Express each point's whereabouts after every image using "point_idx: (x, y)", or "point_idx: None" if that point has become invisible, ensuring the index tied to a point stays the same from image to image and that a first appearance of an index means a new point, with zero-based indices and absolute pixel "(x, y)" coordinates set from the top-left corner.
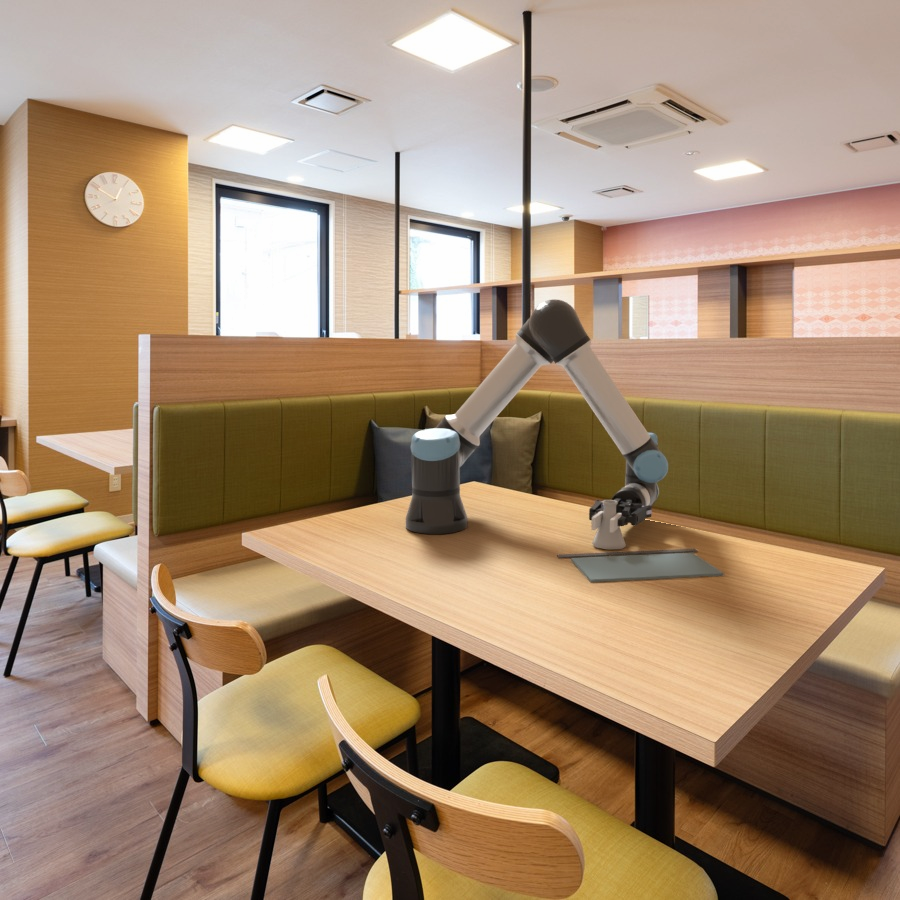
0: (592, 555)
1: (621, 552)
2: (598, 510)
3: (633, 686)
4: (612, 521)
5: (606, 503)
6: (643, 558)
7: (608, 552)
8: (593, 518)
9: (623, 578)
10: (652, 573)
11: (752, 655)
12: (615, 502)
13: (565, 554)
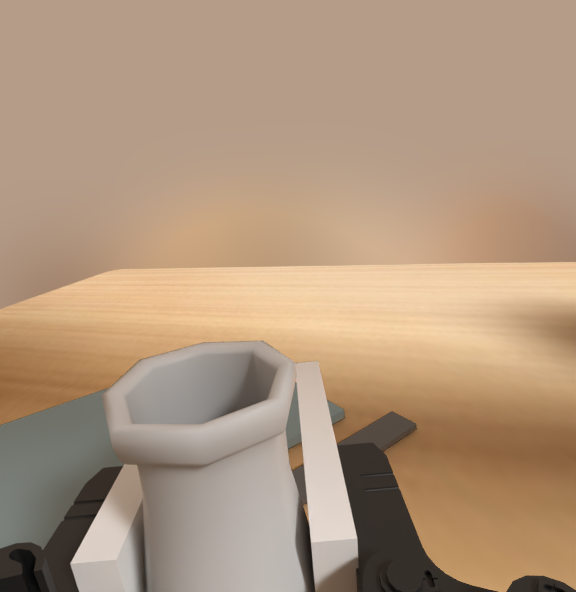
0: None
1: None
2: (402, 562)
3: (158, 273)
4: None
5: (234, 349)
6: (45, 526)
7: None
8: (306, 367)
9: None
10: (64, 415)
11: (22, 311)
12: (134, 366)
13: (392, 436)
